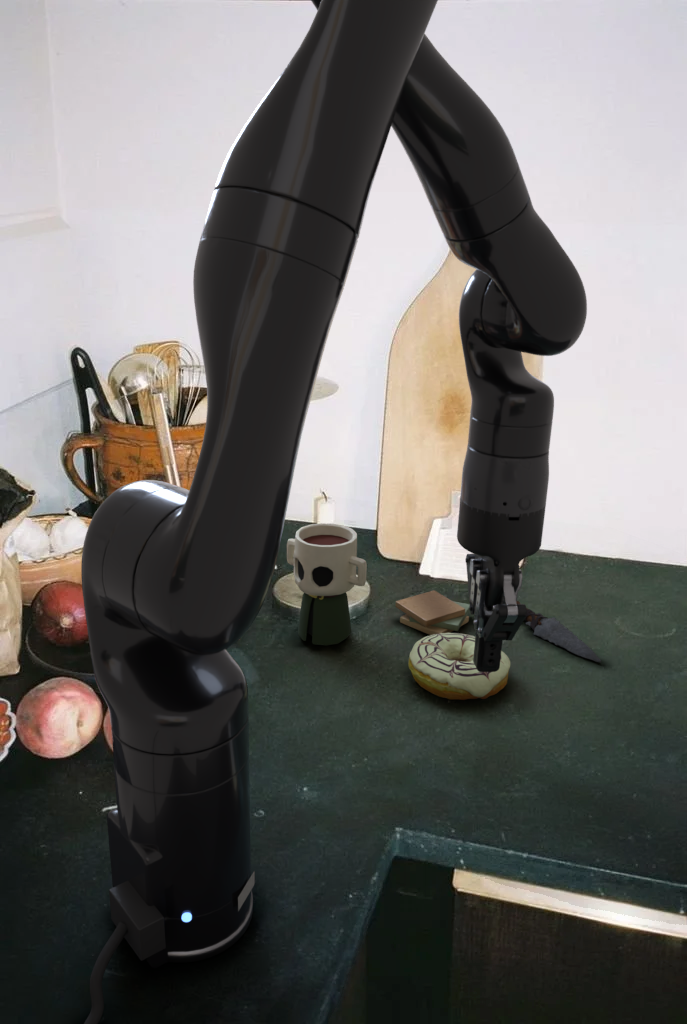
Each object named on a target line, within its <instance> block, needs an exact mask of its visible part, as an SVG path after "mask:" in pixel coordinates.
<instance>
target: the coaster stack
mask: <svg viewBox="0 0 687 1024" xmlns="http://www.w3.org/2000/svg"><path fill="white" fill-rule="evenodd" d="M469 606H470V603H464V602H458V601H454V600H451V599H450V598H448V597H447V596H445V595H443V594H442V593H440V592H438V591H437V590H435V589H433V590H430V591H427V592H422V593H419V594H416V595H412V596H409V597H406V598H403V599H398V600H395V608H396V609H398V610H399V611H401V612H403V613H404V614H403V615H401V616H400V617H399V623H400V624H402V625H405V626H408V627H410V628H412V629H415V630H417V631H419V632H422V633H424V634H427V635H428V636H430V635H433V634H440V633H453V632H454V631H455V632H459V630H460V628H461V627H462V626H464V625H466V624H467V623H469V621H470V616H469V615H468V614H469V613H470V610H469Z"/></svg>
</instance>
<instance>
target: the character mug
mask: <svg viewBox="0 0 687 1024" xmlns="http://www.w3.org/2000/svg"><path fill="white" fill-rule="evenodd" d="M357 555H358V534H357V532H356V531H355V530H354V529H353V528H351V527H348V526H347V525H344V524H337V523H333V522H332V523H329V522H328V523H326V522H324V523H323V522H319V523H312V524H308V525H304V526H302V527H300V528H299V529H298V530H296V532H295V537H294V538H288V540H287V542H286V562H287V564H288V565H291V566H292V567H293V578H294V583H295V584H296V585H297V587H298V589H299V590H300V591H301V592H302V596H301V597H302V598H301V603H300V610H299V617H298V627H297V630H298V631H297V633H298V634H297V635H298V637H299V638H300V639H301V640H302V641H305V642H307V634H308V635H310V636H311V637H312V639H311V644H312V645H316V646H318V645H319V646H331V645H338V644H339V643H341V642H343V641H344V640H346V639H347V638H348V637H349V636H350V635H351V633H352V623H351V614H350V606H349V597H348V594H347V592H348V593H349V591H351V590H352V589H353V588H354V587H355V586H358V587H365V585H366V582H367V573H368V571H367V570H368V569H367V568H368V567H367V566H368V564H367V561H366V560H365V559H364V558H360V557H358V556H357Z"/></svg>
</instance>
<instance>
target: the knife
mask: <svg viewBox="0 0 687 1024" xmlns="http://www.w3.org/2000/svg"><path fill="white" fill-rule="evenodd" d="M516 603H517V604H522V603H521V602H520V601H518V600H517V602H516ZM524 622H525V625H526V626H529V628H531V629H532V631H533V636H537V637H539V638H541V639H543V640H547V641H548V642H549V643H553V644H554V645H555V646H559V647H561V648H563V649H565V650H566V651H568V652H569V653H572V654H573V655H576V656H578V657H582V658H583V659H587V660H590V661H593V662H596V663H602V660H601V658H599V656H598V655H597V654H596V653H595V651H593V650H592V649H591V647H589V646H588V645H587V644H586V643H585V642H584V641H583V640H582V639H579V638H578V636H577V635H575V633H574V632H573V631H571V630H569V628H567V627H565V625H564V624H562V623H561V621H560V620H557V619H556V617H555V616H553V617H547V616H545V615H543V614H542V613H540V612H538V613H536V612H534V610H532V609H530V608H527V614H526V617H525V619H524Z"/></svg>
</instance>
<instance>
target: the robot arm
mask: <svg viewBox="0 0 687 1024" xmlns="http://www.w3.org/2000/svg"><path fill="white" fill-rule="evenodd" d="M310 1H311V3H312V5H313V6H314V8H315V9H316V13H315V15H314V18H313V20H312V22H311V25H310V27H309V29H308V31H307V33H306V35H305V36H304V38H303V40H302V42H301V44H300V45H299V47H298V49H297V50H296V52H295V53H294V55H293V57H291V59H290V60H289V62H288V64H287V66H286V67H285V69H283V71H282V72H281V74H280V75H279V77H278V78H277V79H276V80H275V82H274V84H272V86H271V87H270V88H269V90H268V91H267V93H266V94H265V96H264V97H263V98H262V99H261V101H260V103H259V104H258V105H257V107H256V108H255V110H254V111H253V113H252V114H251V115H250V117H249V119H248V120H247V122H246V123H245V124H244V126H243V127H242V129H241V131H240V133H239V134H238V136H237V137H236V139H235V140H234V143H233V144H232V146H231V147H230V149H229V151H228V153H227V155H226V158H225V160H224V162H223V164H222V166H221V169H220V171H219V174H218V176H217V179H216V183H215V185H214V191H213V193H212V196H211V200H210V203H209V206H208V210H207V214H206V217H205V221H204V224H203V228H202V231H201V235H200V239H199V241H198V247H197V251H196V256H195V260H194V267H193V277H192V279H193V281H192V286H193V302H194V303H193V304H194V310H195V319H196V326H197V332H198V339H199V344H200V350H201V356H202V362H203V368H204V375H205V381H206V395H207V396H206V419H205V426H204V433H203V439H202V443H201V446H200V451H199V456H198V459H197V463H196V467H195V471H194V474H193V477H192V481H191V484H190V487H189V489H187V488H185V487H182V486H178V485H176V484H173V483H169V482H166V481H162V480H156V479H142V480H141V479H140V480H137V481H133V482H129V483H128V484H124V485H122V486H120V487H119V488H117V489H115V490H114V491H113V492H112V493H111V494H110V495H108V496H107V497H106V498H105V500H104V501H102V503H101V504H100V505H99V507H98V508H97V510H96V511H95V512H94V514H93V516H92V518H91V520H90V523H89V525H88V528H87V530H86V534H85V537H84V539H83V540H84V541H83V546H82V552H81V562H80V563H81V568H80V569H81V572H80V573H81V574H80V575H81V590H82V599H83V607H84V608H83V609H84V615H85V623H86V629H87V630H86V631H87V637H88V643H89V651H90V658H91V664H92V670H93V675H94V679H95V683H96V685H97V687H98V690H99V692H100V694H101V695H102V697H103V699H104V701H105V703H106V706H107V707H108V712H109V721H110V730H111V743H112V757H113V770H114V772H113V773H114V782H115V784H114V785H115V798H116V808H114V809H111V810H109V811H108V812H107V814H106V826H107V839H108V849H109V861H110V872H111V873H110V874H111V885H112V887H111V888H109V889H108V896H109V905H110V906H109V909H110V920H111V921H112V923H113V924H114V925H115V929H114V931H113V932H112V934H111V935H110V937H109V938H108V940H107V941H106V943H105V945H104V946H103V947H102V949H101V951H100V953H99V954H98V957H97V959H96V961H95V962H94V965H93V968H92V972H91V975H90V979H89V994H90V1001H91V1002H90V1003H91V1008H90V1013H89V1014H88V1016H87V1018H86V1019H85V1021H84V1023H83V1024H99V1023H100V1021H101V1019H102V1017H103V1014H104V1010H105V999H104V992H103V978H104V976H105V972H106V970H107V968H108V966H109V963H110V961H111V959H112V957H113V955H114V954H115V952H116V951H117V949H118V948H119V947H120V944H121V943H122V941H123V940H124V939H125V940H126V942H127V944H128V945H129V946H130V948H131V949H132V951H133V952H134V953H135V954H136V956H137V957H138V959H139V960H140V961H144V960H145V961H146V962H147V963H148V965H149V966H150V968H152V969H157V968H159V967H161V966H163V965H165V964H167V963H176V964H177V963H179V964H180V963H181V964H182V963H183V964H185V963H193V962H199V961H203V960H207V959H210V958H213V957H216V956H217V955H219V954H221V953H223V952H225V951H227V950H228V949H230V948H231V947H232V946H233V945H235V944H236V943H237V942H238V941H239V940H240V939H241V938H242V937H243V935H244V934H245V933H246V931H247V929H248V928H249V926H250V924H251V921H252V918H253V912H254V898H253V896H254V895H253V888H254V886H255V883H256V882H255V881H256V880H255V875H256V874H255V871H253V872H252V853H251V850H252V849H251V847H252V846H251V792H250V791H251V789H250V785H251V783H250V722H249V721H250V720H249V719H250V717H249V716H250V715H249V688H248V681H247V677H246V675H245V672H244V671H243V669H242V668H241V666H240V664H239V663H238V661H237V660H236V659H235V658H234V657H233V656H232V655H231V653H229V651H228V650H227V649H229V648H230V647H231V646H233V645H234V644H235V643H237V642H238V641H239V640H240V639H241V638H242V637H243V636H244V635H245V634H246V632H247V631H249V629H250V628H251V627H252V625H253V623H254V621H255V620H256V618H257V617H258V615H259V613H260V611H261V609H262V607H263V605H264V602H265V600H266V598H267V596H268V593H269V589H270V587H271V584H272V580H273V577H274V572H275V569H276V566H277V560H278V556H279V552H280V548H281V547H280V546H281V542H282V538H283V537H282V536H283V531H284V528H285V527H284V526H285V522H286V516H287V511H288V505H289V501H290V495H291V489H292V484H293V481H294V480H293V479H294V474H295V469H296V463H297V459H298V454H299V450H300V444H301V439H302V436H303V431H304V427H305V422H306V420H307V416H308V411H309V408H310V404H311V400H312V396H313V392H314V389H315V385H316V381H317V377H318V374H319V369H320V367H321V362H322V358H323V354H324V351H325V348H326V344H327V342H328V337H329V333H330V331H331V327H332V324H333V322H334V319H335V315H336V312H337V310H338V306H339V303H340V301H341V299H342V298H341V297H342V295H343V292H344V289H345V285H346V282H347V279H348V276H349V272H350V268H351V265H352V262H353V259H354V256H355V251H356V248H357V244H358V239H359V238H360V234H361V229H362V226H363V222H364V218H365V213H366V209H367V206H368V203H369V202H368V201H369V197H370V193H371V191H372V187H373V184H374V181H375V177H376V175H377V171H378V169H379V166H380V162H381V159H382V156H383V152H384V150H385V146H386V145H387V144H386V143H387V141H388V137H389V135H390V131H391V128H392V131H393V132H394V134H395V135H396V137H397V139H398V141H399V142H400V144H401V147H402V148H403V150H404V152H405V154H406V155H407V158H408V160H409V162H410V163H411V165H412V167H413V169H414V171H415V174H416V176H417V178H418V181H419V182H420V184H421V187H422V190H423V191H424V194H425V196H426V199H427V201H428V203H429V206H430V208H431V210H432V212H433V215H434V217H435V220H436V222H437V224H438V227H439V228H440V231H441V233H442V236H443V238H444V240H445V242H446V244H447V247H448V248H449V250H450V252H451V253H452V254H453V256H454V257H455V258H456V259H457V260H458V261H459V262H461V263H462V264H464V265H466V266H468V267H470V268H473V269H475V270H474V271H473V272H472V273H471V275H470V276H469V278H468V279H467V281H466V282H465V285H464V287H463V290H462V292H461V296H460V300H459V306H458V307H459V308H458V328H459V337H460V343H461V346H462V354H463V359H464V366H465V373H466V378H467V382H468V387H469V392H470V398H471V399H470V400H471V402H470V403H471V404H470V412H469V413H470V414H469V425H468V435H467V445H466V452H465V456H464V461H463V464H462V465H463V466H462V470H461V471H462V472H461V485H460V497H459V508H458V517H457V533H456V539H457V542H458V544H460V546H461V547H462V548H463V549H464V550H466V551H468V552H469V553H466V557H465V558H464V559H465V564H466V578H467V588H468V589H467V590H468V601H469V603H468V604H470V606H469V610H470V611H469V613H470V615H473V621H472V624H473V628H474V630H475V636H474V637H475V647H474V657H473V662H474V664H475V666H476V668H477V670H478V671H479V672H496V671H498V670H499V668H500V659H501V651H502V648H503V641H512V640H513V639H514V638H515V636H516V634H517V632H518V631H519V630H520V627H521V626H522V624H523V623H524V622H525V620H524V619H525V617H526V614H527V609H528V608H527V605H526V604H525V603H521V604H517V603H516V602H517V601H518V595H519V591H520V590H521V589H522V584H523V571H522V569H520V563H521V562H522V561H523V560H524V559H526V558H528V557H531V556H533V555H535V554H536V553H538V551H539V550H540V549H541V547H542V541H543V533H544V525H545V524H544V523H545V515H546V507H547V500H548V499H547V498H548V489H549V481H550V480H549V479H550V460H549V459H550V447H551V438H552V429H553V421H554V419H553V418H554V410H555V396H554V392H553V390H552V388H551V387H550V386H549V385H548V384H546V382H544V381H542V380H540V379H539V378H537V377H535V376H534V375H533V374H532V373H530V372H529V370H527V368H526V365H525V362H524V358H523V354H522V353H524V354H528V355H532V356H533V355H534V356H539V357H553V356H556V355H560V354H562V353H564V352H566V351H568V350H569V349H570V348H572V347H573V346H574V345H575V344H576V343H577V341H578V340H579V338H580V336H581V334H582V333H583V331H584V328H585V325H586V321H587V315H588V303H587V302H588V301H587V294H586V289H585V285H584V283H583V280H582V278H581V276H580V274H579V272H578V269H577V267H576V266H575V264H574V263H573V261H572V260H571V258H570V256H569V255H568V254H567V252H566V251H565V249H564V248H563V247H562V245H561V244H560V242H559V241H558V239H557V238H556V237H555V235H554V233H553V232H552V230H551V229H550V227H548V225H547V224H546V223H545V221H544V220H543V219H542V217H541V216H540V215H539V214H538V212H537V211H536V210H535V208H534V205H533V203H532V199H531V196H530V193H529V190H528V187H527V185H526V181H525V179H524V176H523V172H522V170H521V167H520V164H519V162H518V159H517V156H516V154H515V151H514V148H513V145H512V143H511V141H510V139H509V137H508V135H507V133H506V131H505V129H504V128H503V126H502V125H501V123H500V122H499V120H498V119H497V117H496V115H494V113H493V111H492V110H491V109H490V107H488V105H487V104H486V103H485V101H484V100H483V99H482V98H481V97H480V96H479V95H478V93H477V92H476V91H475V90H474V89H473V88H472V87H471V86H470V85H469V84H468V83H467V82H466V81H465V80H464V78H462V76H461V75H460V74H459V73H458V72H457V71H456V69H454V68H453V67H452V65H450V63H448V61H447V60H446V59H445V57H444V56H442V54H441V53H440V52H439V51H438V49H437V48H436V47H435V45H434V44H433V43H432V42H431V40H430V39H429V37H428V36H427V34H426V31H427V28H428V26H429V24H430V21H431V19H432V16H433V14H434V11H435V9H436V6H437V4H438V1H439V0H310Z"/></svg>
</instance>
